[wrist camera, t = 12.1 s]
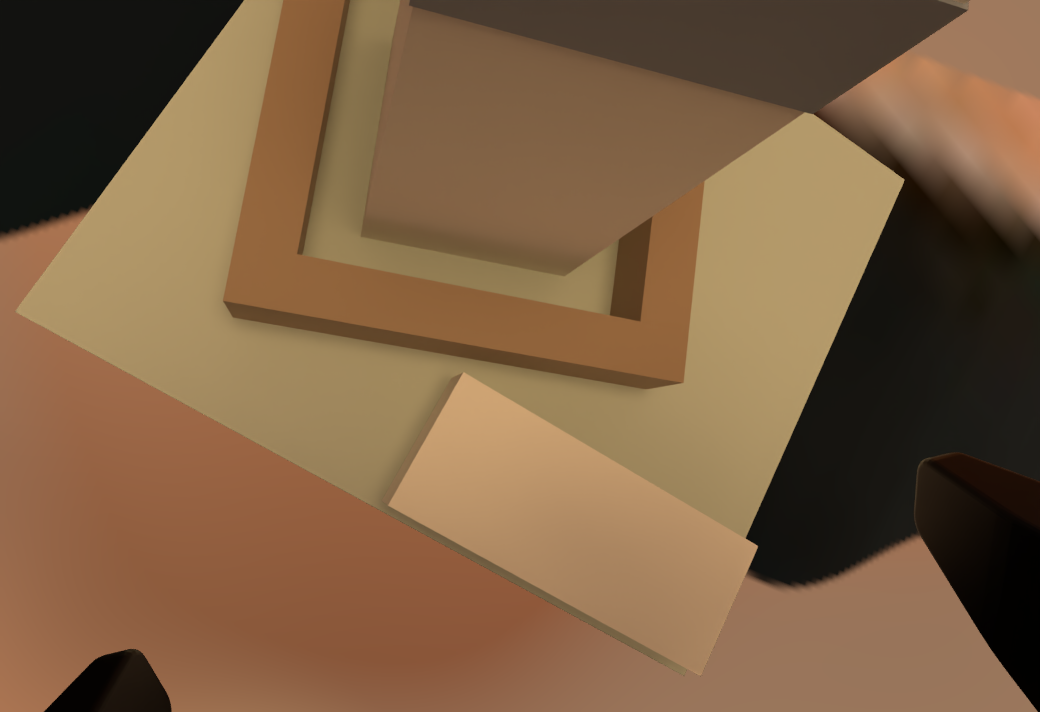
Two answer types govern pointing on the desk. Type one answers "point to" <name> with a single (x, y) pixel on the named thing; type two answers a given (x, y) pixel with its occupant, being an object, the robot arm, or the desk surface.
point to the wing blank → (572, 522)
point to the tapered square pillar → (599, 110)
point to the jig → (452, 285)
